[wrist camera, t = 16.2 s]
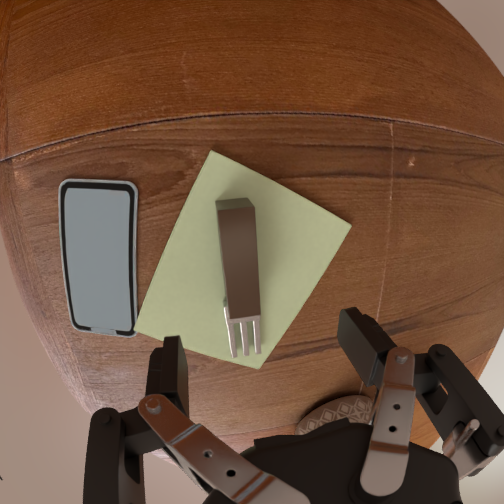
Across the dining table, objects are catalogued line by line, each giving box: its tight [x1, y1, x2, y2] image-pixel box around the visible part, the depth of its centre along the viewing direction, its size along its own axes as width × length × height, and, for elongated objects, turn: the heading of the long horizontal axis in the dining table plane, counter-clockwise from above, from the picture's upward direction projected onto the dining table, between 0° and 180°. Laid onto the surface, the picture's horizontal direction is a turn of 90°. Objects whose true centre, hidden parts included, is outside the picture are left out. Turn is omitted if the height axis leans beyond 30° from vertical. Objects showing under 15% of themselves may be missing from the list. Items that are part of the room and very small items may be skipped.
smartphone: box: [59, 179, 138, 337], centre depth 23 cm, size 7×1×15 cm
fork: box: [215, 197, 261, 358], centre depth 24 cm, size 15×3×3 cm, turn 4°
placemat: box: [134, 150, 352, 369], centre depth 26 cm, size 18×14×1 cm
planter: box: [295, 395, 373, 435], centre depth 33 cm, size 13×13×10 cm
